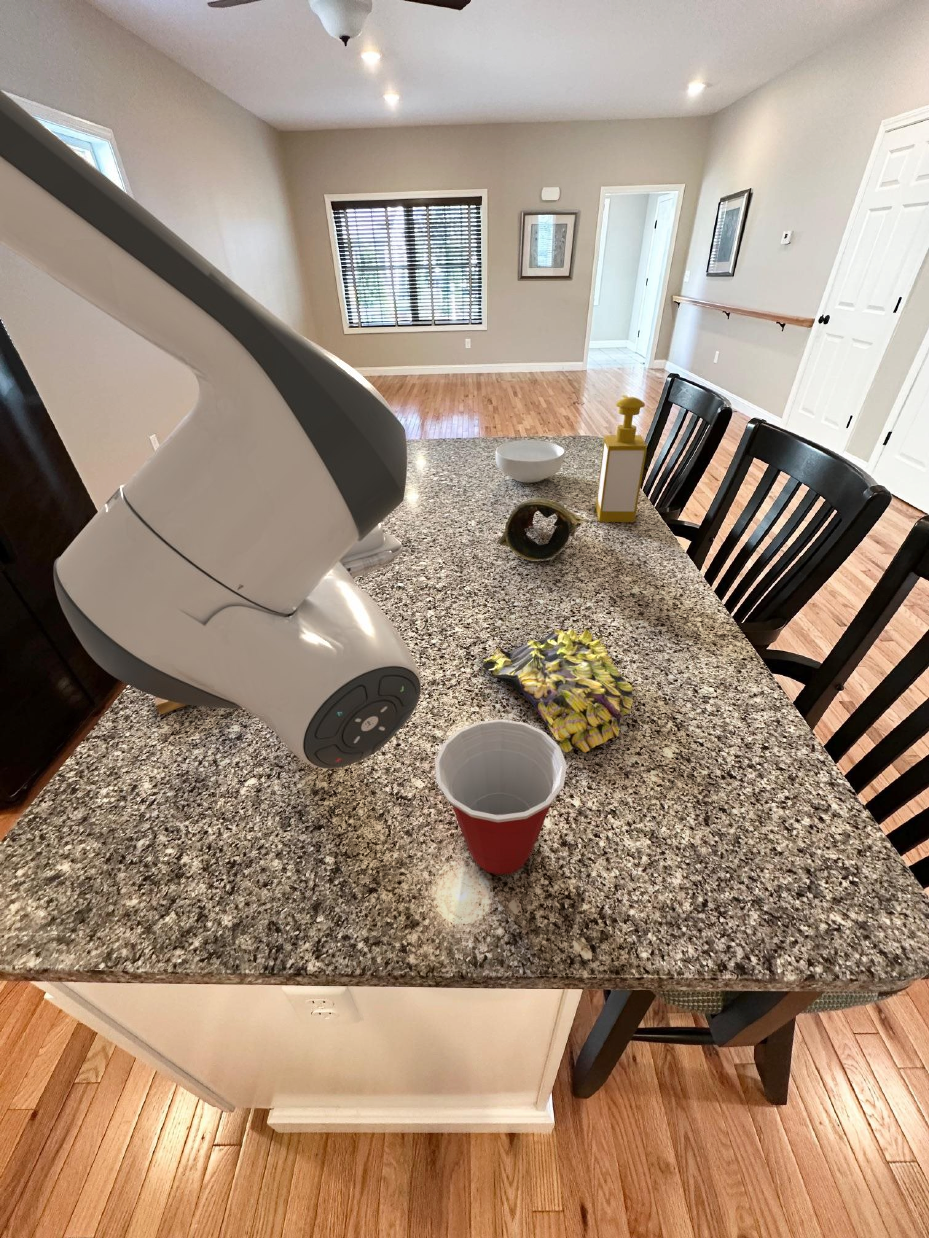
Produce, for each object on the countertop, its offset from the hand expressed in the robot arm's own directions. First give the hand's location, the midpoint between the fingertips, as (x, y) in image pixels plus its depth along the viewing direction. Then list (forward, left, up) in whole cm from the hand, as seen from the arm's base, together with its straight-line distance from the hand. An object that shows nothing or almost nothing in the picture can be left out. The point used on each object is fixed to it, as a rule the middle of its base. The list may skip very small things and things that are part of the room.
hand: (245, 526), depth 48 cm
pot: (+52, +19, -26) cm, 61 cm away
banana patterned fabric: (+29, -13, -26) cm, 41 cm away
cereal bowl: (+74, +52, -26) cm, 94 cm away
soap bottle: (+76, +25, -26) cm, 84 cm away
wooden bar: (-10, +12, -26) cm, 30 cm away
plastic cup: (+11, -26, -26) cm, 38 cm away
